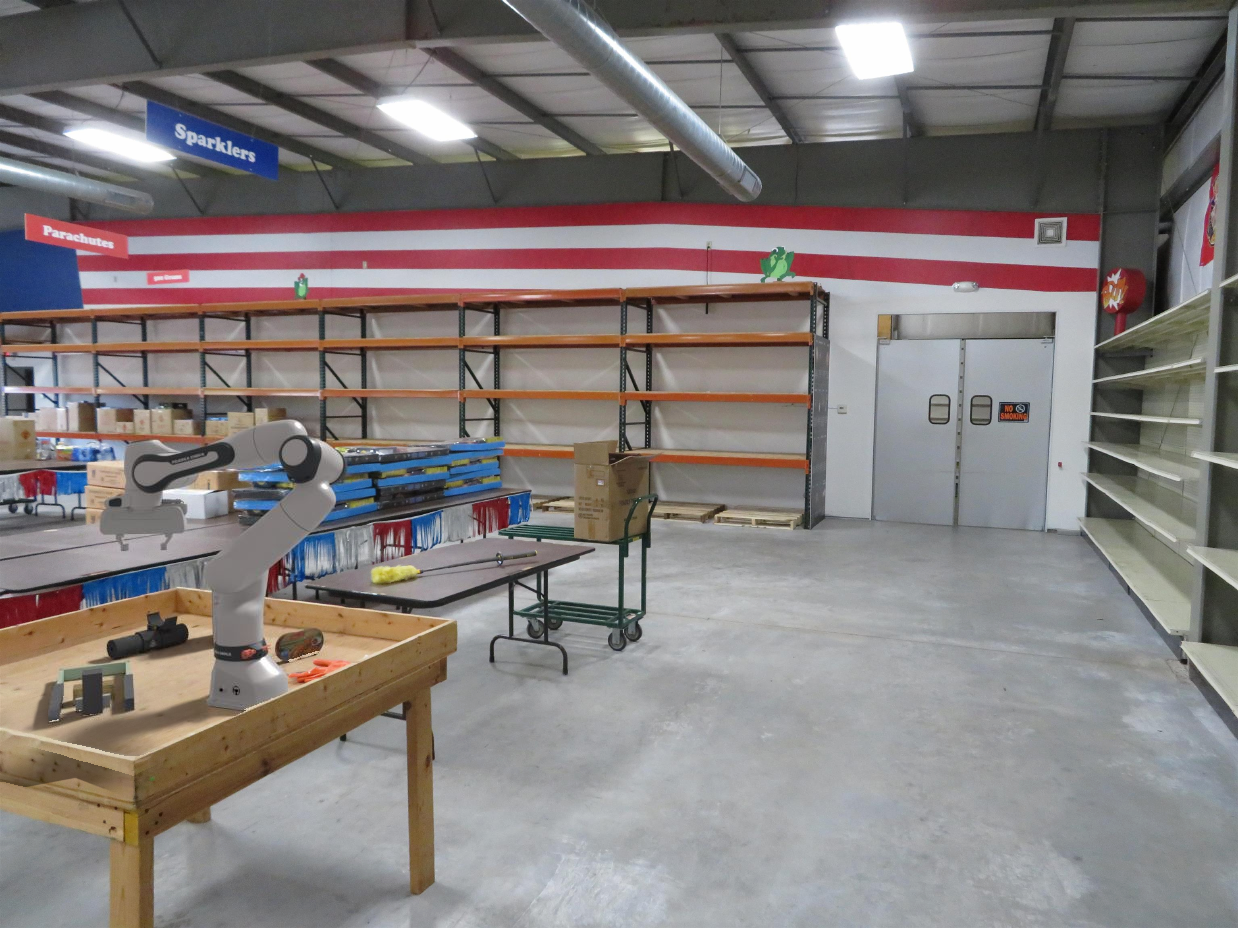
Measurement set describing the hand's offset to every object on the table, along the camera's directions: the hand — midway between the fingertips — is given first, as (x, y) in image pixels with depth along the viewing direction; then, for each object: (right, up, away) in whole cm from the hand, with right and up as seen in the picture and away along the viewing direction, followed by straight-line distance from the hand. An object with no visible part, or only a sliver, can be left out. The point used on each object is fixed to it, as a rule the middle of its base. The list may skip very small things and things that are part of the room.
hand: (144, 550), depth 213 cm
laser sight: (-14, -34, +27) cm, 45 cm away
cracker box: (+2, -33, +39) cm, 51 cm away
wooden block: (-6, -36, -15) cm, 40 cm away
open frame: (-11, -35, -3) cm, 37 cm away
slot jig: (-3, -36, -16) cm, 40 cm away
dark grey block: (+1, -37, -22) cm, 43 cm away
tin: (+33, -35, +23) cm, 53 cm away
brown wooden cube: (-2, -36, -13) cm, 39 cm away
